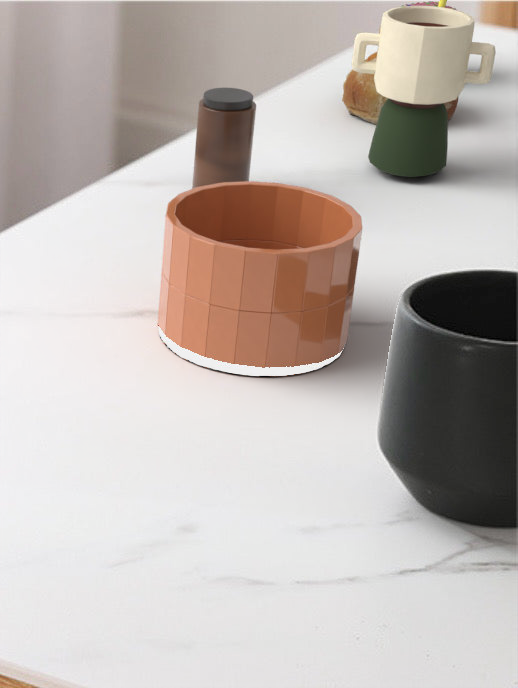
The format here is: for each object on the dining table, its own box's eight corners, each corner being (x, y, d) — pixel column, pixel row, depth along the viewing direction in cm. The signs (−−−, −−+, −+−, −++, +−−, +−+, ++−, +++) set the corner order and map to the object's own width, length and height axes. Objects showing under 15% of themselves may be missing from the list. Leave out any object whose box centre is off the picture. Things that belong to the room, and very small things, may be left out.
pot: (342, 304, 108) (358, 187, 104) (348, 385, 97) (366, 259, 93) (164, 290, 110) (172, 175, 106) (151, 368, 100) (160, 244, 96)
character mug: (476, 165, 132) (502, 11, 126) (470, 193, 126) (498, 33, 120) (344, 150, 135) (364, -1, 129) (333, 177, 130) (352, 21, 123)
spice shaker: (247, 189, 127) (257, 87, 123) (246, 209, 124) (256, 105, 120) (193, 186, 128) (201, 84, 124) (190, 205, 124) (198, 101, 120)
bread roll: (352, 163, 143) (378, 98, 136) (319, 86, 149) (343, 20, 142) (455, 157, 144) (485, 91, 138) (418, 80, 150) (445, 14, 144)
